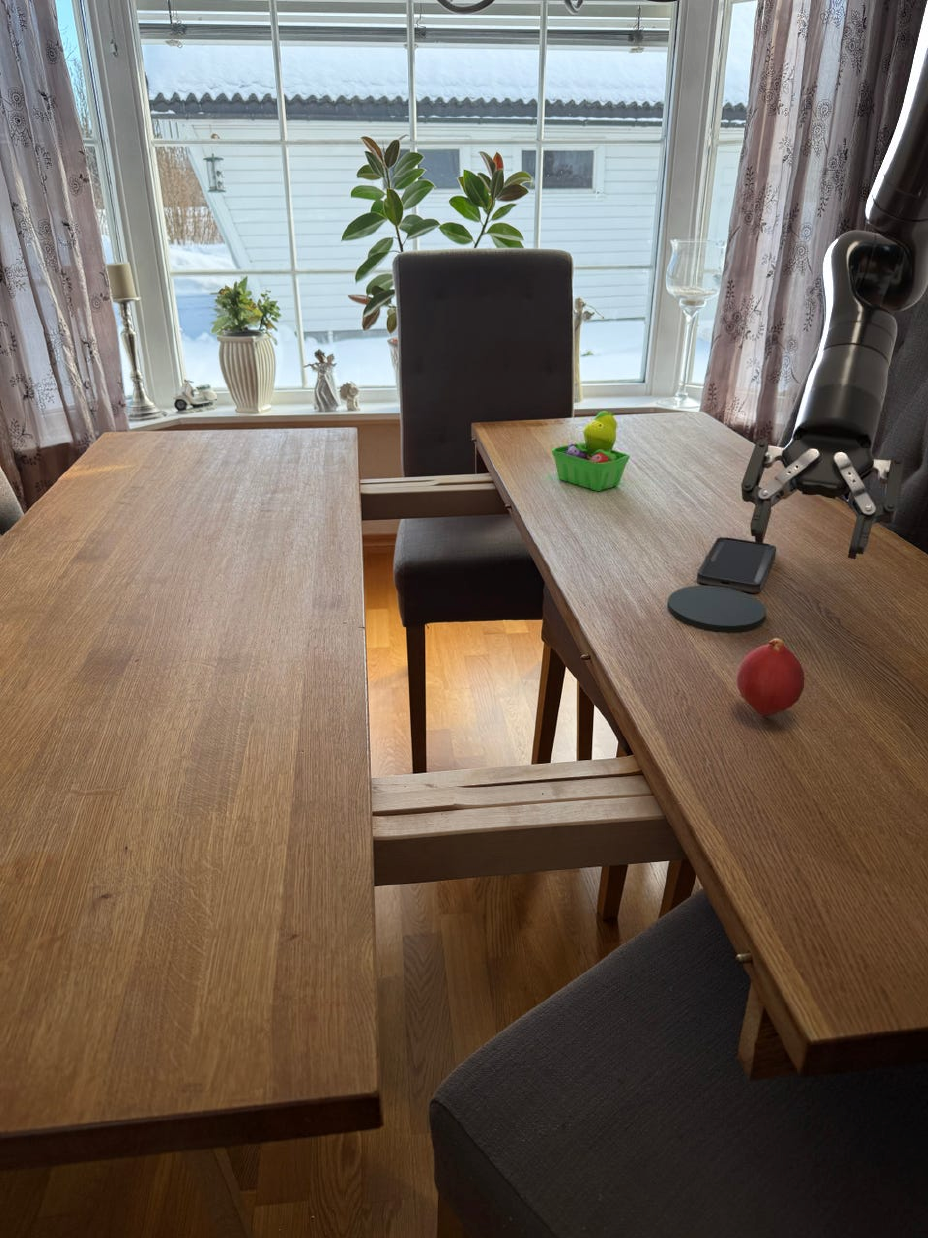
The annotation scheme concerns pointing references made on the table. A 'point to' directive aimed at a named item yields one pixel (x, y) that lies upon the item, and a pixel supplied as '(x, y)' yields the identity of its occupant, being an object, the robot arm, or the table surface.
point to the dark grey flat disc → (716, 608)
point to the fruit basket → (593, 456)
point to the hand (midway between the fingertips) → (804, 547)
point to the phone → (737, 564)
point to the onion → (770, 678)
